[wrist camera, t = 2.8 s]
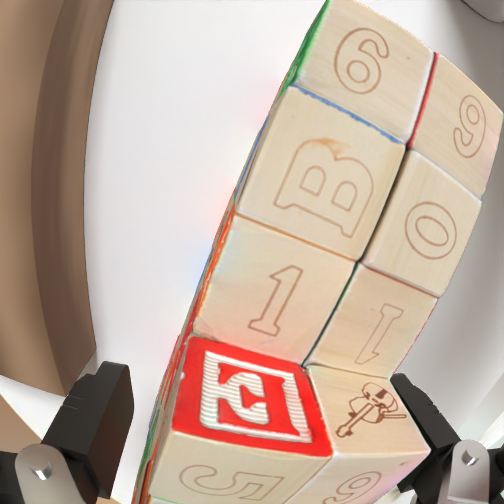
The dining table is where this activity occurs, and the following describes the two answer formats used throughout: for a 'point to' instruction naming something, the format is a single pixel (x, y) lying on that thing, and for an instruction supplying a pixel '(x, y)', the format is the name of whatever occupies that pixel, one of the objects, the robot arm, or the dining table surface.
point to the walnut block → (45, 187)
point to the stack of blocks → (324, 276)
